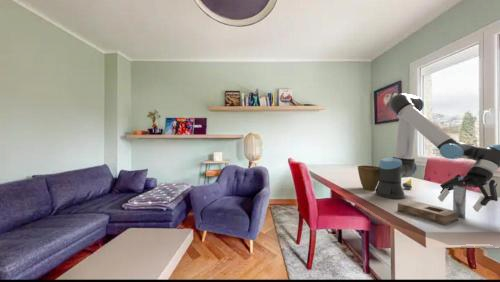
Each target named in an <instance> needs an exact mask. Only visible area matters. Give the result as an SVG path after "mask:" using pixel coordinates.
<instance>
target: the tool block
mask: <svg viewBox="0 0 500 282" xmlns="http://www.w3.org/2000/svg"><path fill="white" fill-rule="evenodd" d="M397 212H400V213H403V214H406V215H410V216H413V217H415V218H420V219H421V220H426V221H429V222H432V223H436V224H438V225H442V226H447V225H451V224H452V223H456V222H458V221H459V218H458V212H457V211H453V209H450V208H449V209H448V208H445V207H441V206H436V205H433V204H428V203H426V202H425V203H424V202H421V201H416V200H412V199H409V200H405V201H401V202H398V203H397Z"/></svg>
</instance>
